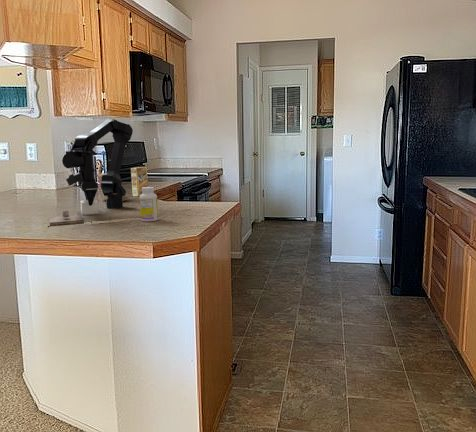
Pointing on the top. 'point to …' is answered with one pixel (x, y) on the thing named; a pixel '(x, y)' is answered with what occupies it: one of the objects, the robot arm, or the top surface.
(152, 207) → the supplement bottle
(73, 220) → the hub
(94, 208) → the collar
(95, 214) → the stand
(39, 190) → the top surface
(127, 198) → the stone cup
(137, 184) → the candy box
